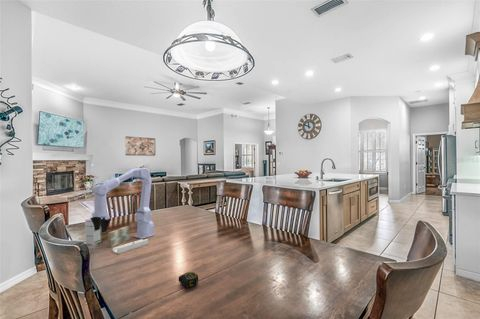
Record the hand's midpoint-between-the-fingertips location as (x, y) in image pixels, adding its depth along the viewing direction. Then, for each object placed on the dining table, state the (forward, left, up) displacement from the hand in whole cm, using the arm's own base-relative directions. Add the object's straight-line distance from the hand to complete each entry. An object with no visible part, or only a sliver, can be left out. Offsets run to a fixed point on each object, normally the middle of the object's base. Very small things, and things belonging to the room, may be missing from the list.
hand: (100, 230), depth 130 cm
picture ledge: (-10, +12, -10) cm, 19 cm away
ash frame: (-10, -1, -10) cm, 14 cm away
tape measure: (-3, +68, -10) cm, 69 cm away
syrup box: (-1, -13, -10) cm, 16 cm away
